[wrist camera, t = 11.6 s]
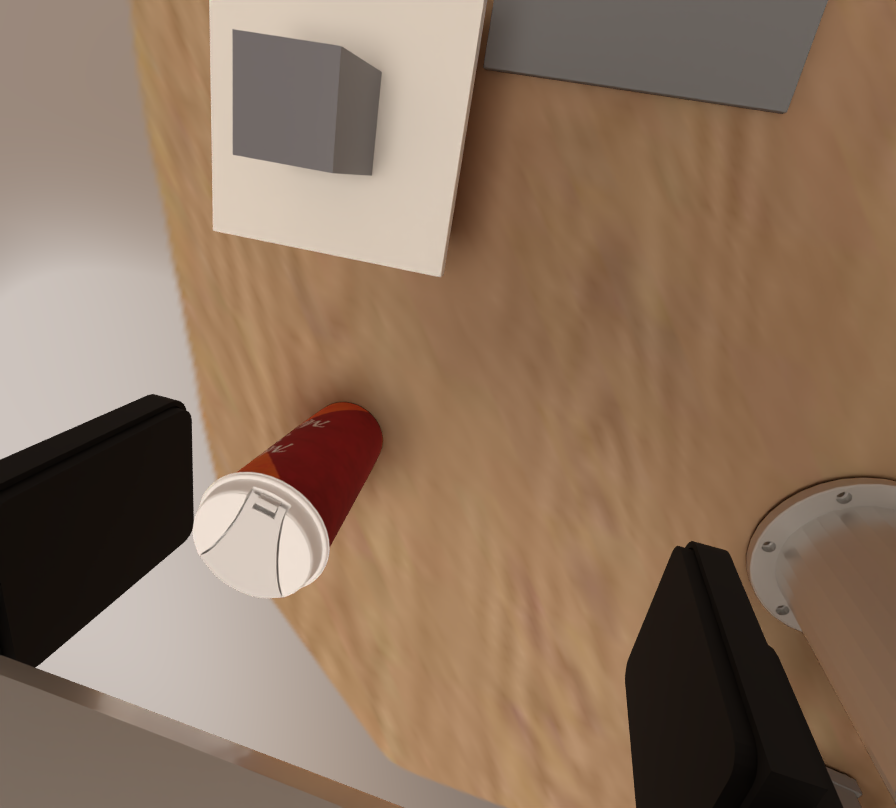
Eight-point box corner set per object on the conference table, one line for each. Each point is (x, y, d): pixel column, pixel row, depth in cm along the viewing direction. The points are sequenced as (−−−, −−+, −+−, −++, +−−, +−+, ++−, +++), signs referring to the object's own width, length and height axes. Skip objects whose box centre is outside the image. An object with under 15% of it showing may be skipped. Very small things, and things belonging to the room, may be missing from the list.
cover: (490, -22, 23) (469, -83, 18) (443, 274, 28) (416, 294, 23) (218, -59, 25) (125, -125, 20) (221, 229, 30) (148, 238, 25)
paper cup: (318, 370, 39) (200, 459, 26) (412, 417, 39) (339, 529, 26) (288, 453, 42) (170, 567, 30) (375, 496, 42) (294, 630, 29)
